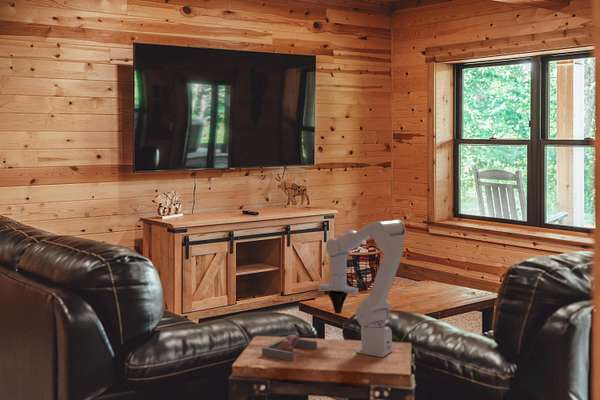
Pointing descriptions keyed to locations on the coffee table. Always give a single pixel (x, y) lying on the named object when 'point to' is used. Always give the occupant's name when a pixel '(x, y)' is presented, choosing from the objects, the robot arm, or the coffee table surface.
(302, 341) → the controller dock
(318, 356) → the coffee table surface
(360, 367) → the coffee table surface
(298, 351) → the coffee table surface
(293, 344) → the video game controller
